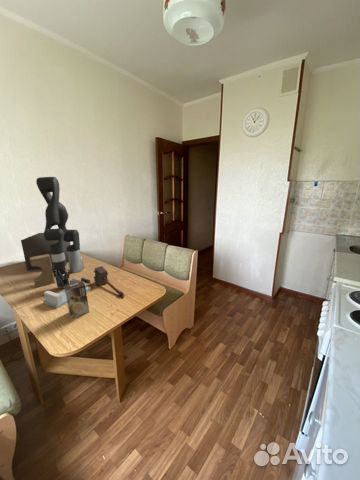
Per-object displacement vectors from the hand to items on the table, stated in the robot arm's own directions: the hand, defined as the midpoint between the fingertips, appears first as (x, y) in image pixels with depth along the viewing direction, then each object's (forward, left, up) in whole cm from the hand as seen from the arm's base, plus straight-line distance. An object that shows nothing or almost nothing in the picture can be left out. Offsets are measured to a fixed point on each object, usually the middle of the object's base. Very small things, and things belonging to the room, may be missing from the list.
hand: (62, 283), depth 132 cm
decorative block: (+1, -17, -3) cm, 17 cm away
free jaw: (-4, +12, -2) cm, 13 cm away
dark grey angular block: (-25, -49, -4) cm, 55 cm away
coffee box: (+14, +32, -3) cm, 35 cm away
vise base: (+5, +12, -3) cm, 14 cm away
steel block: (0, 0, -2) cm, 2 cm away
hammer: (-12, +29, -4) cm, 32 cm away
